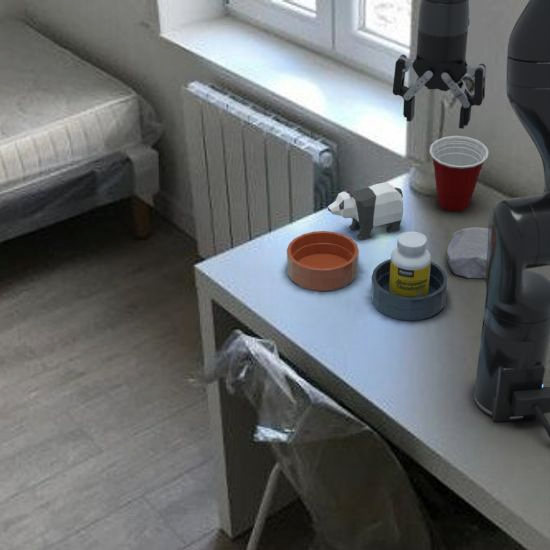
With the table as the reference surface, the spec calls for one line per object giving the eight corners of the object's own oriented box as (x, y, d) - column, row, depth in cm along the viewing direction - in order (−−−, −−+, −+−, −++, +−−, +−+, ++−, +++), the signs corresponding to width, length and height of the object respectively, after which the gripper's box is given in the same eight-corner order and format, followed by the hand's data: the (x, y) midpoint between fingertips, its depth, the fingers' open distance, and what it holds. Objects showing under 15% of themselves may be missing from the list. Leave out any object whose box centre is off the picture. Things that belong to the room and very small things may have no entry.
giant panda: (393, 216, 183) (395, 171, 178) (406, 230, 179) (409, 185, 173) (322, 232, 179) (322, 187, 174) (334, 247, 175) (334, 202, 169)
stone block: (447, 284, 167) (507, 280, 164) (444, 261, 165) (504, 256, 162) (451, 249, 177) (507, 245, 174) (448, 226, 175) (505, 221, 172)
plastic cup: (428, 219, 182) (432, 163, 175) (423, 190, 191) (426, 136, 184) (486, 219, 181) (493, 162, 174) (478, 190, 190) (484, 135, 183)
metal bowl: (453, 318, 157) (455, 295, 154) (378, 324, 156) (379, 301, 153) (435, 275, 167) (437, 254, 164) (365, 281, 166) (366, 259, 163)
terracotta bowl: (363, 288, 164) (363, 267, 161) (291, 294, 163) (291, 272, 161) (351, 249, 174) (352, 228, 171) (284, 254, 173) (283, 233, 171)
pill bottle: (384, 305, 159) (387, 246, 153) (393, 283, 164) (396, 225, 158) (423, 312, 158) (428, 252, 151) (431, 290, 163) (436, 231, 156)
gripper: (391, 29, 146) (387, 127, 155) (485, 39, 142) (475, 139, 151) (403, 12, 152) (399, 108, 161) (494, 21, 148) (484, 119, 157)
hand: (436, 123), depth 156 cm, fingers open, 8 cm apart
